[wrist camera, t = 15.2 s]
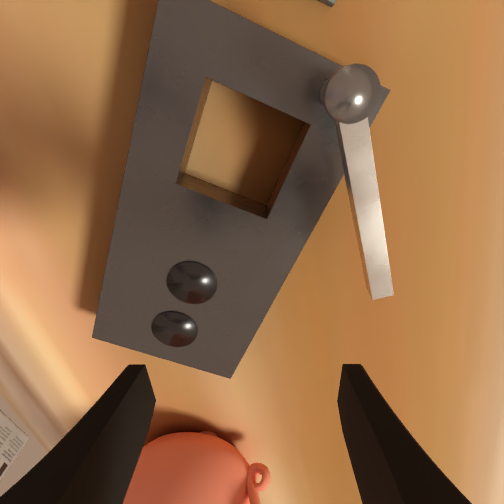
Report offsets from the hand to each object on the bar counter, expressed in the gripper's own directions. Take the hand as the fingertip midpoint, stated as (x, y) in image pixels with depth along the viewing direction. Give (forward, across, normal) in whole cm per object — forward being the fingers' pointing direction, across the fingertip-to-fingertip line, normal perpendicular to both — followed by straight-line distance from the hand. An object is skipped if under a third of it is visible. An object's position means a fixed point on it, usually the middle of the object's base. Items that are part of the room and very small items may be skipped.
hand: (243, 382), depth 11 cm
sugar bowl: (+10, +6, +23) cm, 25 cm away
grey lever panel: (+9, +2, -2) cm, 10 cm away
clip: (+7, -5, -5) cm, 10 cm away
